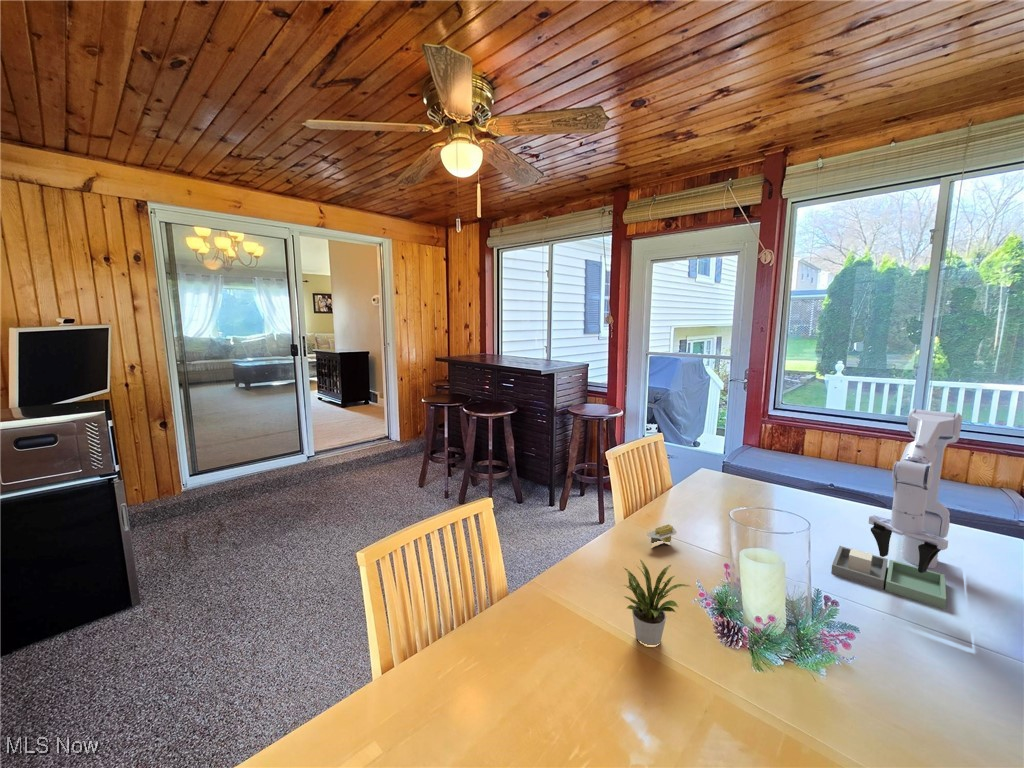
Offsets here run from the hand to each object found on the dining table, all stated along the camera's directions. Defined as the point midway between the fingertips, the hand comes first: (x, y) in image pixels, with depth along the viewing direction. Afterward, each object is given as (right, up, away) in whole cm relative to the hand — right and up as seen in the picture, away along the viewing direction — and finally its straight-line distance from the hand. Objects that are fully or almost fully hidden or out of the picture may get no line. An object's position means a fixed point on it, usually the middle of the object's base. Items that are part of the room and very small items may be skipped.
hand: (902, 563), depth 104 cm
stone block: (0, -7, +12) cm, 14 cm away
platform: (-48, -7, +28) cm, 57 cm away
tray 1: (0, -8, +12) cm, 15 cm away
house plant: (-64, -12, -10) cm, 66 cm away
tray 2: (+8, -9, +5) cm, 13 cm away
